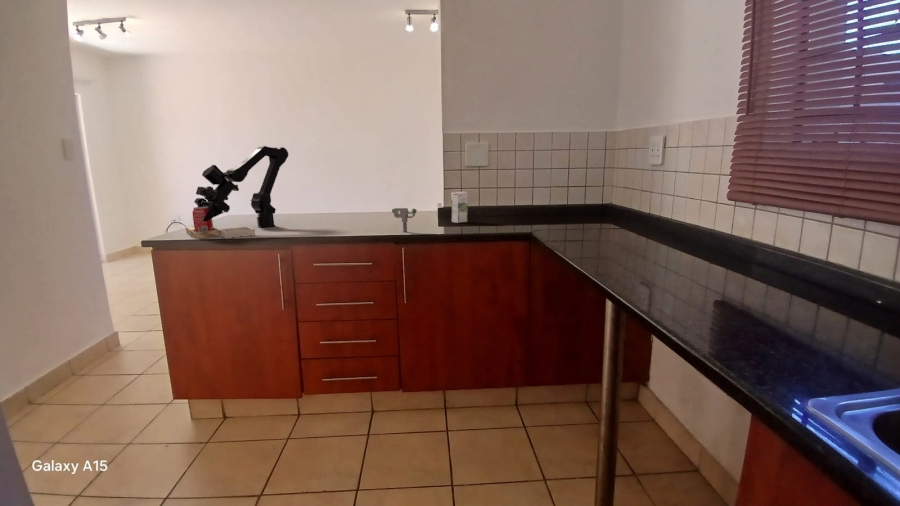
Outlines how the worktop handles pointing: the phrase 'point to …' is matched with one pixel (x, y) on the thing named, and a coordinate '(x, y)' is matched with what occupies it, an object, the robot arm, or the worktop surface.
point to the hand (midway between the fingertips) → (199, 220)
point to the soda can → (201, 220)
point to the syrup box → (459, 207)
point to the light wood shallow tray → (202, 234)
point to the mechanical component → (403, 215)
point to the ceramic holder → (237, 232)
